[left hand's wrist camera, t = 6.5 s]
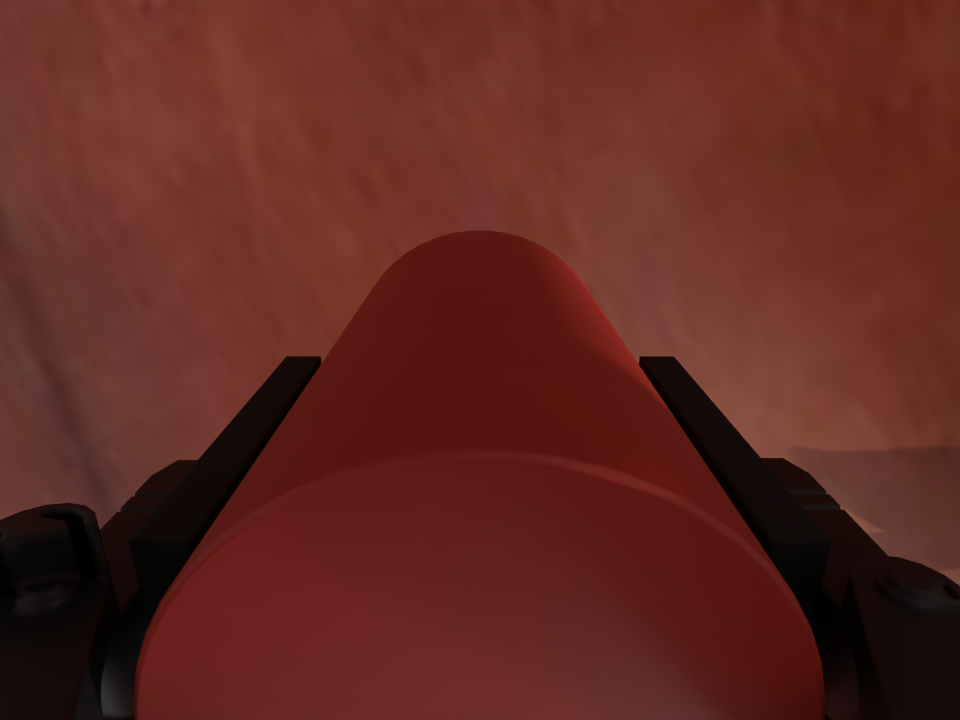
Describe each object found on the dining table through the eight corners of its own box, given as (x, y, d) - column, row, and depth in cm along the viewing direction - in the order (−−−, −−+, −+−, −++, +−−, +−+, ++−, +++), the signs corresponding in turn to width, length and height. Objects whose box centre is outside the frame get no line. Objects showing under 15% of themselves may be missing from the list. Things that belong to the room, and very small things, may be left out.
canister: (532, 495, 19) (605, 1014, 8) (320, 406, 18) (58, 860, 7) (649, 298, 17) (986, 631, 6) (416, 183, 16) (261, 315, 5)
